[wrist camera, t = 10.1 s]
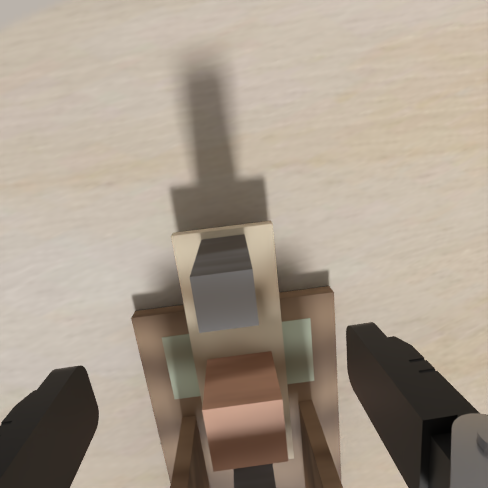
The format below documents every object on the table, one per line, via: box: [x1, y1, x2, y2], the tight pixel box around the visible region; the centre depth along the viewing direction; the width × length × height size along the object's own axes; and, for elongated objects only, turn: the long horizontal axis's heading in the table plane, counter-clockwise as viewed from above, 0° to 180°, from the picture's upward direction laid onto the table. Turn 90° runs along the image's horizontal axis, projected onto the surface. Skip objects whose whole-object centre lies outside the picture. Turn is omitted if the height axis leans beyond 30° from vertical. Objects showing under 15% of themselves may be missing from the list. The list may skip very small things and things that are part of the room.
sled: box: [171, 221, 294, 488], centre depth 21 cm, size 21×7×8 cm, turn 7°
